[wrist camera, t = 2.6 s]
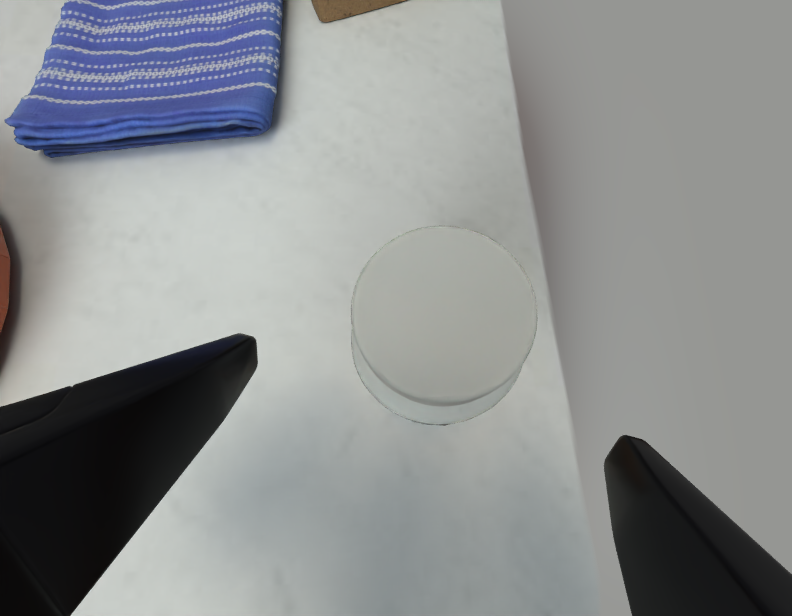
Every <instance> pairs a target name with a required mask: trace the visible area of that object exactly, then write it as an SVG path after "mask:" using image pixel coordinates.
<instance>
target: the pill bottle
mask: <svg viewBox="0 0 792 616" xmlns="http://www.w3.org/2000/svg"><path fill="white" fill-rule="evenodd" d="M351 322H352V336H351V345H352V353H353V359H354V363H355V366H356V369H357V371H358V374H359V376H360V378H361V380H362V382H363V384H364V385H365V386H366V388H367V389H368V390H369V392H370V393H371V394H372V395H373V396H374V397H375V398H376V399H377V400H378V401H379V402H380V403H381V404H382V405H384V406H385V407H386V408H387V409H389V410H391V411H392V412H394V413H395V414H397V415H400V416H402V417H404V418H406V419H408V420H411V421H414V422H417V423H422V424H427V425H448V424H453V423H458V422H462V421H465V420H468V419H471V418H474V417H476V416H478V415H480V414H482V413H484V412H486V411H487V410H489V409H490V408H492V407H493V406H494V405H496V404H497V403H498V402H499V401H500V400H501V399H502V398H503V397H504V396H505V395H506V394H507V393H508V391H509V390H510V389H511V387H512V386H513V385H514V383H515V381H516V379H517V378H518V375H519V373H520V371H521V368H522V364H523V363H524V361H525V359H526V358H527V356H528V354H529V352H530V350H531V347H532V344H533V342H534V338H535V334H536V329H537V305H536V299H535V295H534V291H533V289H532V286H531V283H530V281H529V279H528V277H527V275H526V273H525V271H524V270H523V268H522V267H521V265H520V264H519V263H518V262H517V260H516V259H515V258H514V257H513V256H512V255H511V254H510V253H509V252H508V251H507V250H506V249H505V248H504V247H502V246H501V245H499V244H498V243H497V242H495V241H493V240H492V239H490V238H488V237H486V236H485V235H483V234H480V233H478V232H475V231H471V230H468V229H464V228H460V227H452V226H433V227H425V228H419V229H415V230H412V231H410V232H407V233H405V234H402V235H400V236H398V237H396V238H395V239H393V240H391V241H390V242H388V243H387V244H386V245H384V246H383V247H382V248H381V249H380V250H379V251H377V252H376V253H375V254H374V255H373V256H372V258H371V259H370V260H369V261H368V262H367V264H366V265H365V267H364V268H363V270H362V272H361V274H360V276H359V278H358V280H357V283H356V285H355V289H354V292H353V297H352V304H351Z"/></svg>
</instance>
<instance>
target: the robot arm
mask: <svg viewBox="0 0 792 616" xmlns="http://www.w3.org/2000/svg"><path fill="white" fill-rule="evenodd" d="M257 364H258V358H257V343H256V339H255V338H254V337H253V336H249V335H245V334H241V333H238V334H235V335H232V336H229V337H225V338H222V339H219V340H216V341H213V342H209V343H206V344H203V345H200V346H197V347H193V348H190V349H187V350H184V351H181V352H177V353H174V354H171V355H168V356H164V357H161V358H158V359H155V360H152V361H148V362H145V363H142V364H139V365H136V366H132V367H129V368H126V369H123V370H120V371H116V372H113V373H110V374H107V375H104V376H100V377H97V378H94V379H91V380H88V381H84V382H81V383H78V384H75V385H74V386H73V387H71V386H68V387H65V388H62V389H59V390H55V391H52V392H49V393H46V394H43V395H39V396H36V397H33V398H29V399H26V400H23V401H19V402H16V403H13V404H9V405H5V406H2V407H0V616H70V615H71V614H72V613H73V611H74V610H75V609H76V608H77V606H78V605H79V604H80V603H81V601H82V600H83V599H84V598H85V596H86V595H87V594H88V592H89V591H90V590H91V589H92V587H93V586H94V585H95V584H96V582H97V581H98V580H99V578H100V577H101V576H102V575H103V573H104V572H105V571H106V570H107V568H108V567H109V566H110V564H111V563H112V562H113V561H114V559H115V558H116V557H117V556H118V554H119V553H120V552H121V550H122V549H123V548H124V547H125V545H126V544H127V543H128V542H129V540H130V539H131V538H132V537H133V535H134V534H135V533H136V531H137V530H138V529H139V528H140V526H141V525H142V524H143V523H144V521H145V520H146V519H147V517H148V516H149V515H150V514H151V512H152V511H153V510H154V509H155V507H156V506H157V505H158V503H159V502H160V501H161V500H162V498H163V497H164V496H165V495H166V493H167V492H168V491H169V489H170V488H171V487H172V486H173V484H174V483H175V482H176V481H177V479H178V478H179V477H180V475H181V474H182V473H183V472H184V470H185V469H186V468H187V467H188V465H189V464H190V463H191V462H192V460H193V459H194V458H195V456H196V455H197V454H198V453H199V451H200V450H201V449H202V448H203V446H204V445H205V444H206V442H207V441H208V440H209V439H210V437H211V436H212V435H213V434H214V432H215V431H216V430H217V428H218V427H219V426H220V425H221V423H222V422H223V421H224V419H225V418H226V416H227V415H228V413H229V412H230V410H231V409H232V407H233V405H234V404H235V402H236V401H237V399H238V397H239V396H240V394H241V393H242V391H243V390H244V388H245V386H246V385H247V383H248V382H249V380H250V379H251V377H252V375H253V374H254V372H255V370H256V368H257ZM604 472H605V480H606V487H607V494H608V502H609V510H610V517H611V525H612V531H613V537H614V542H615V546H616V551H617V555H618V559H619V563H620V567H621V571H622V575H623V580H624V584H625V588H626V592H627V596H628V600H629V605H630V609H631V613H632V616H792V574H791V573H790V572H788V571H787V570H786V569H785V568H784V567H783V566H782V565H781V564H780V563H779V562H777V561H776V560H775V559H774V558H773V557H772V556H771V555H770V554H769V553H767V552H766V551H765V550H764V549H763V548H762V547H761V546H760V545H759V544H758V543H757V542H755V541H754V540H753V539H752V538H751V537H750V536H749V535H748V534H747V533H746V532H745V531H743V530H742V529H741V528H740V527H739V526H738V525H737V524H736V523H735V522H733V521H732V520H731V519H730V518H729V517H728V516H727V515H726V514H725V513H724V512H723V511H721V510H720V509H719V508H718V507H717V506H716V505H715V504H714V503H713V502H712V501H710V500H709V499H708V498H707V497H706V496H705V495H704V494H702V492H701V491H699V490H698V489H697V488H696V487H695V486H694V485H693V484H692V483H691V482H690V481H688V480H687V479H686V478H685V477H684V476H683V475H682V474H681V473H680V472H679V471H678V470H676V469H675V468H674V467H673V466H672V465H671V464H670V463H669V462H668V461H666V460H665V459H664V458H663V457H662V456H661V455H660V454H659V453H658V452H657V451H655V450H654V449H653V448H652V447H651V446H650V445H649V444H648V443H647V442H646V441H644V440H642V439H639V438H635V437H631V436H627V435H623V436H621V437H620V438H619V439H618V440H617V442H616V443H615V445H614V446H613V448H612V449H611V451H610V452H609V454H608V455H607V457H606V459H605V463H604Z"/></svg>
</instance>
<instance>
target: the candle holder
mask: <svg viewBox="0 0 792 616" xmlns="http://www.w3.org/2000/svg"><path fill="white" fill-rule="evenodd" d="M311 1H312V3H313V6H314V9H315V11H316V13H317V15H318V18H319V20H320V21H321V22H329V21H333V20H338V19H342V18H346V17H349V16H353V15H357V14H360V13H364V12H367V11H371V10H374V9H378V8H381V7H385V6H388V5H392V4H395V3H399V2H402V1H406V0H311Z"/></svg>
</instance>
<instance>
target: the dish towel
mask: <svg viewBox="0 0 792 616" xmlns="http://www.w3.org/2000/svg"><path fill="white" fill-rule="evenodd" d="M282 10H283V0H68V1H66V2H65V4H64V6H63V7H62V8H61V20H60V21H59V22H58V24H57V25H56V28H55V32H54V34H53V36H52V43H51V45H50V46H49V47H48V48H47V49H46V52H45V56H44V62H43V65H42V69H41V70H40V71H39V73H38V74H37V75H36V80H35V84H34V86H33V87H32V89H31V92H30V93H29V94H28V95H26V96H24V97H23V98H22V99H21V101H20V103H19V104H18V106H17V108H16V109H15V110H14V112H13V114H12V115H11V116H10V117H9V118H7V119H5V120H4V121H5V123H7V124H8V125H9V126H13V127H15V130H14V134H15V136H16V138H15V139H14V140H15V141H16V142H17V143H18V144H20V145H24V146H25V147H26V148H29V149H32V150H34V151H37V150H43V151H44V154H45V155H46V156H48V157H51V158H52V157H59V156H65V155H76V154H80V153H87V152H97V151H107V150H118V149H126V148H134V147H143V146H152V145H160V144H169V143H179V142H189V141H201V140H210V139H224V138H235V137H250V136H256V135H259V134H262V133H264V132H265V131H267V130H268V129H269V128H270V126H271V121H272V114H273V106H274V100H275V98H276V95H277V83H278V74H279V60H280V46H281V39H280V34H281V31H282V28H281V25H282V18H283V17H282V16H283V14H282Z"/></svg>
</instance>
